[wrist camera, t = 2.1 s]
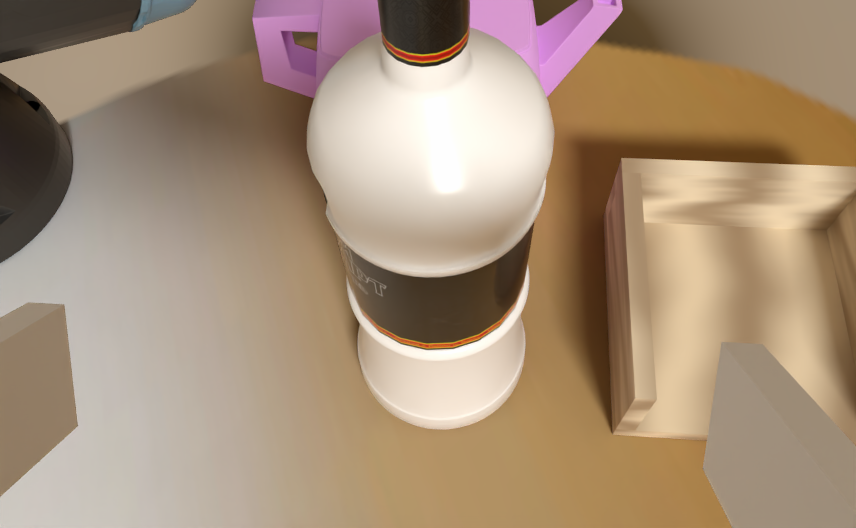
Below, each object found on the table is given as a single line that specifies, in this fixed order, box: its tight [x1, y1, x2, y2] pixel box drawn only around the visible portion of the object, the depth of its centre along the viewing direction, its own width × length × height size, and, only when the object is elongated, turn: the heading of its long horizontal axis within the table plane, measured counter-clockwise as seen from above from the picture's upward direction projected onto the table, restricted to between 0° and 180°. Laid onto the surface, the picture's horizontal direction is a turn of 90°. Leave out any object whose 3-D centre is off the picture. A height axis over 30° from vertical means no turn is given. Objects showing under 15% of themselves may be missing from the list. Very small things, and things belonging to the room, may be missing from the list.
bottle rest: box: [603, 158, 856, 446], centre depth 41 cm, size 14×14×6 cm
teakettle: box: [252, 0, 623, 98], centre depth 47 cm, size 17×17×12 cm
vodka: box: [307, 0, 555, 429], centre depth 30 cm, size 9×9×30 cm
